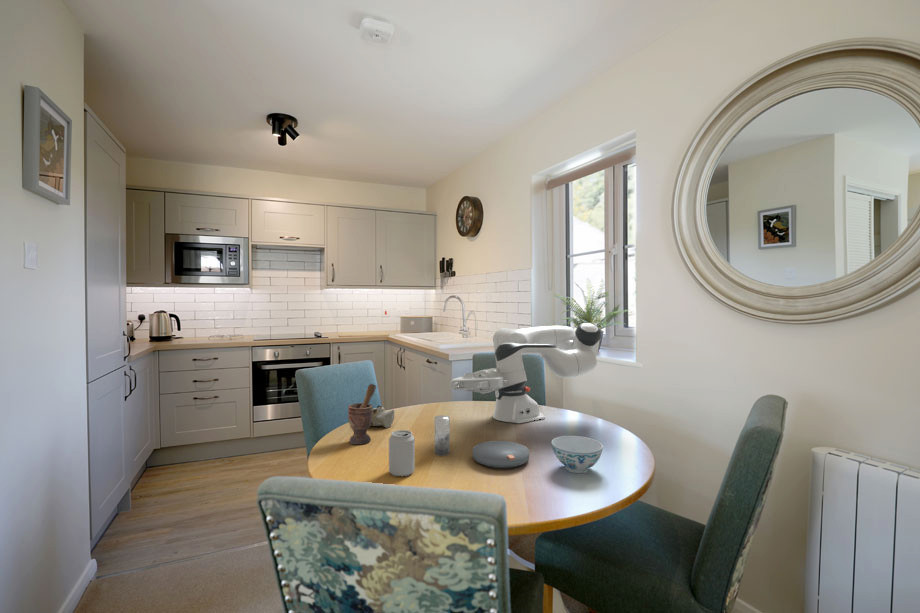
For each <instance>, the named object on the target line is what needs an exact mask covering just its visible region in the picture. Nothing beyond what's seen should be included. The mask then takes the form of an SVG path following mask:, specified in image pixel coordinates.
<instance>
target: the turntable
mask: <svg viewBox="0 0 920 613" xmlns="http://www.w3.org/2000/svg"><path fill="white" fill-rule="evenodd" d="M472 459H473V460H474V461H476V462H477V463H478V464H481V465H483V464H484V465H483V466H485V465H488V466H494V467H513V466H517V467H519V466H521V465H524V464H525V463H527V462H528V461H529V460H530V450H529V448H528V447H527V446H525V445H523V444H521V443H518V442H514V441H507V440H488V441H483V442H481V443H478V444H475V445H474V446H473V447H472ZM518 465H519V466H518ZM488 466H487V467H488ZM513 468H514V467H513Z"/></svg>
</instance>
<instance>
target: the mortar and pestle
mask: <svg viewBox="0 0 920 613" xmlns="http://www.w3.org/2000/svg"><path fill="white" fill-rule="evenodd" d="M376 390H377V385H376V384H373V383H370V384H368V387H367V389H366V392H365V396H364V398H363V402H359V403H353V404H352V403H351V404H349V405H348V406H347V407H348V408H347V409H348V411H347V414H348V416H347V417H348V423H349V426H350V427H349V428H350V429H351V430H352V431H353V434H352V435H351V436H350V438H349V443H350V444H351V445H365V444H368V443H370V442H371V441H372V438H371V436H370V435H369V434H368V433H367V431H368V429H369V428H370V427H371V426H372V425H371V422H372V415H373V414H372V412H373V409H374V408H373V407H374V406H373V404H372V403H371V400H372V398H373V396H374V394H375V392H376Z"/></svg>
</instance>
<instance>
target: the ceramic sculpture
mask: <svg viewBox="0 0 920 613" xmlns="http://www.w3.org/2000/svg"><path fill="white" fill-rule="evenodd" d="M372 414H373V415H372V422H371V426H372V427H381V426H383V427H384V428H390V427H392V425H393V422H394V420H395V409H391V410H386V409H385V407H383V406H382V405H377V407H374V408H373V412H372Z"/></svg>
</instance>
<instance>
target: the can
mask: <svg viewBox="0 0 920 613" xmlns="http://www.w3.org/2000/svg"><path fill="white" fill-rule="evenodd" d="M415 450H416V449H415V436H414V435H413V431H410V430H406V429H399V430H395V431H392V432H391V433H390V436H389V439H388V472H389V473H390V474H391V475H392V476H393V475H394V476H393V477H396V476H402V477H401V478H403V476H405V477H408V476H410V475H412V473H413V472H414V471H415V458H416V457H415V456H416V455H415V453H416V452H415Z"/></svg>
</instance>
